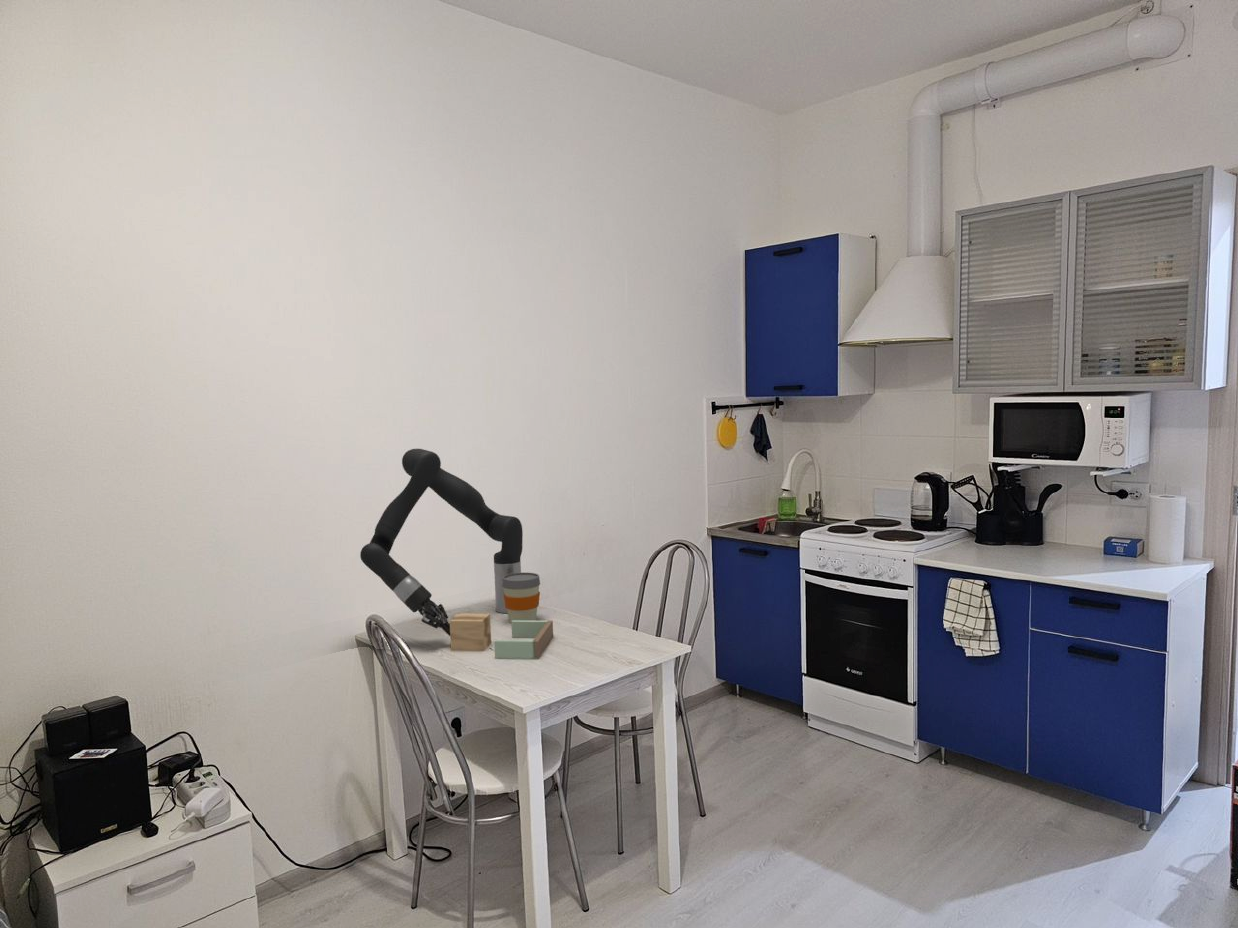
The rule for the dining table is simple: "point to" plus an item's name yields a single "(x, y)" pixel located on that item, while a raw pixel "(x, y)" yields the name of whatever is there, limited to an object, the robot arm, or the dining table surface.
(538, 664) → the dining table surface
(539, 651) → the bay
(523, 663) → the dining table surface
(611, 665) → the dining table surface
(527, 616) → the reusable coffee cup
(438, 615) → the robot arm
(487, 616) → the oak block
